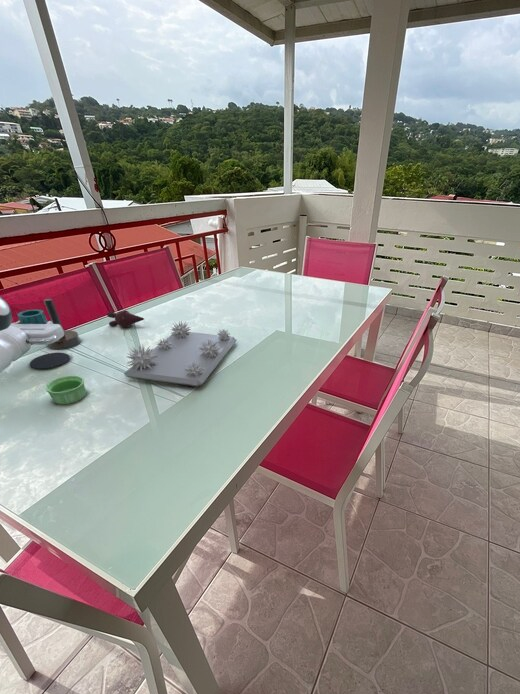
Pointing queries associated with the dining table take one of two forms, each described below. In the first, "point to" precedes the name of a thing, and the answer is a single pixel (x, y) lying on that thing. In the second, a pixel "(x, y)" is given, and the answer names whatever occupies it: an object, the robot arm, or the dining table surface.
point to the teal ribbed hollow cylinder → (32, 317)
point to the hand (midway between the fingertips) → (36, 323)
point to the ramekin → (66, 389)
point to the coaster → (50, 361)
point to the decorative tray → (181, 357)
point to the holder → (69, 336)
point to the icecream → (123, 318)
